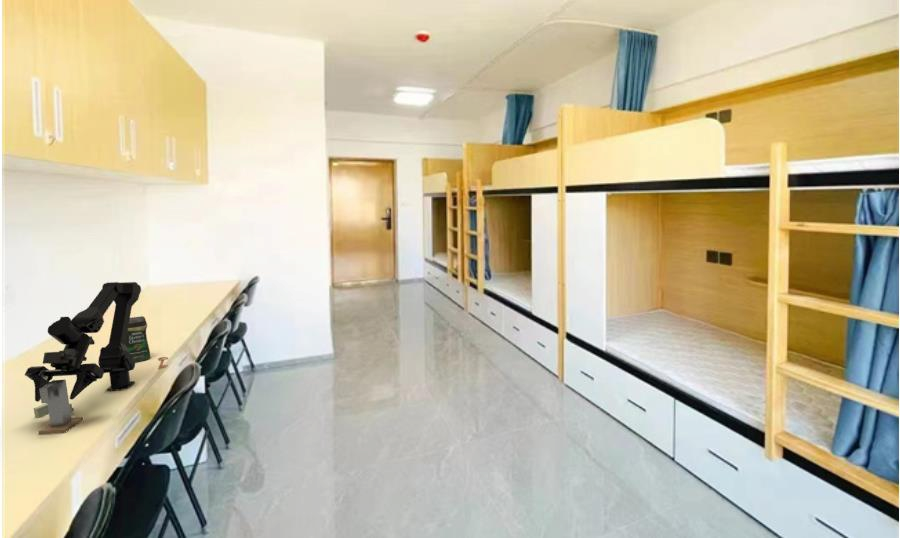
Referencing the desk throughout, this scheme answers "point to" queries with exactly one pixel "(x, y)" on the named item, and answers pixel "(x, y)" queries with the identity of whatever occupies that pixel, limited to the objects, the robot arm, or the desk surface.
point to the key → (162, 362)
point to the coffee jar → (137, 339)
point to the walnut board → (61, 429)
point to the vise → (45, 410)
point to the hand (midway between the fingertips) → (54, 400)
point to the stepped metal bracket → (56, 402)
